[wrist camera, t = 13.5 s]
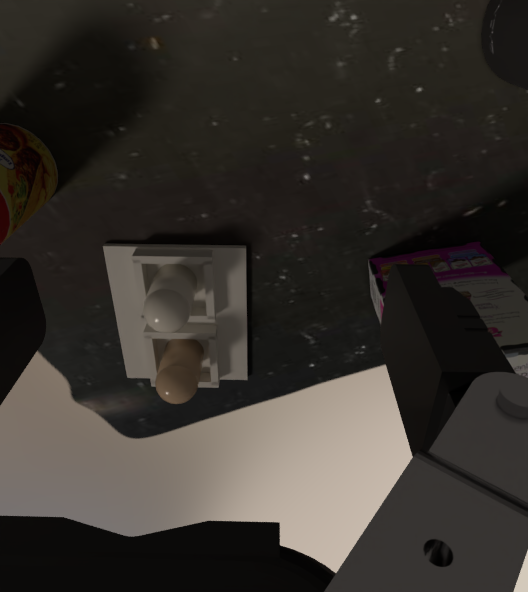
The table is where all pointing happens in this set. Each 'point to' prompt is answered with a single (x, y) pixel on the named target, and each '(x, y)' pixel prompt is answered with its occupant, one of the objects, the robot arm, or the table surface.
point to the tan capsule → (179, 370)
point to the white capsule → (170, 298)
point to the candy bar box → (469, 292)
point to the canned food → (23, 177)
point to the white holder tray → (204, 315)
